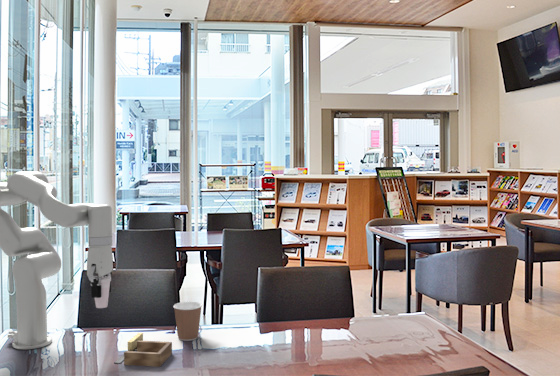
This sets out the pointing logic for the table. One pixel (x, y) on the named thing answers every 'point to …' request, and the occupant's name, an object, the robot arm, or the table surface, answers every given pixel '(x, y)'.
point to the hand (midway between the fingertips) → (101, 294)
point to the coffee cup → (187, 320)
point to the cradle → (147, 354)
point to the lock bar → (134, 341)
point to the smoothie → (103, 292)
